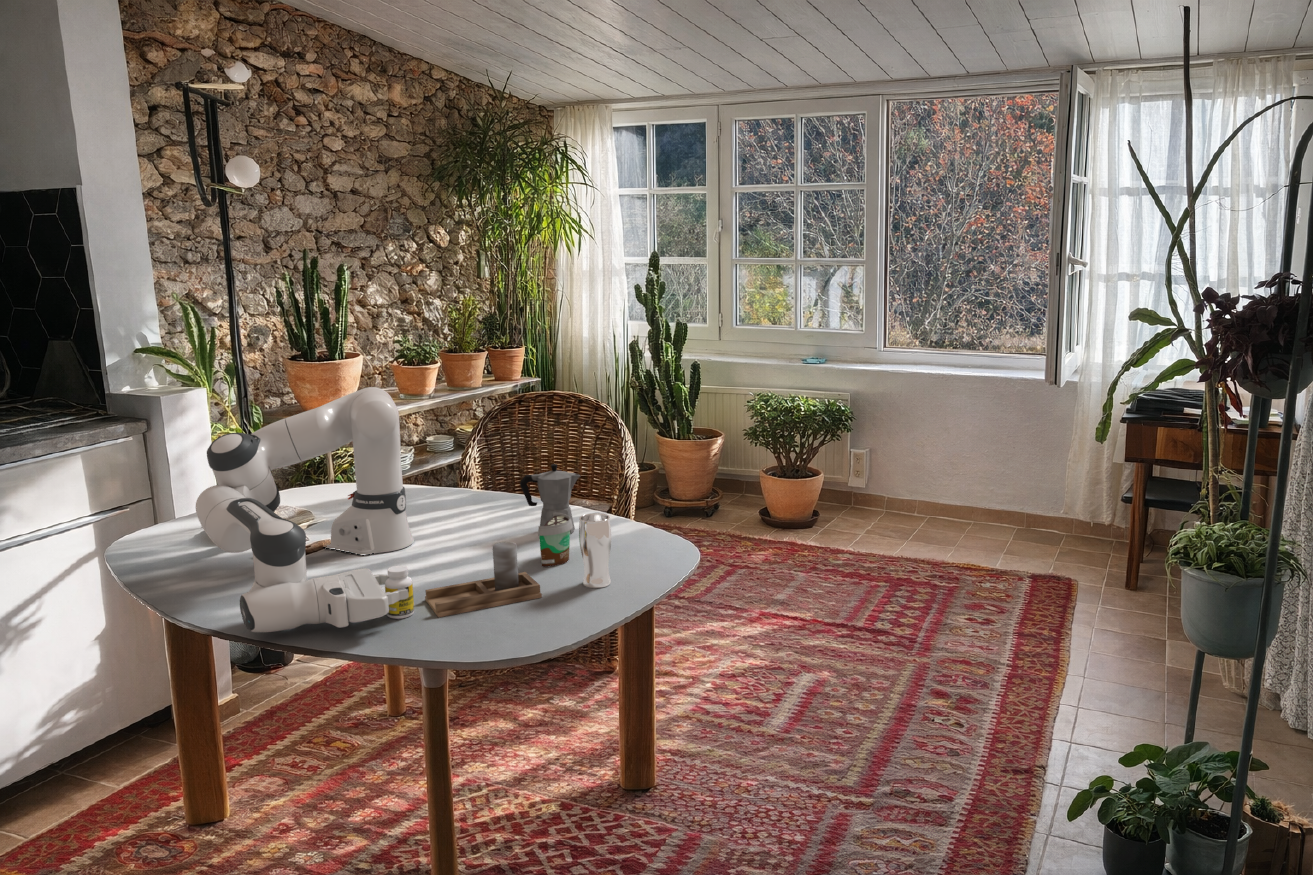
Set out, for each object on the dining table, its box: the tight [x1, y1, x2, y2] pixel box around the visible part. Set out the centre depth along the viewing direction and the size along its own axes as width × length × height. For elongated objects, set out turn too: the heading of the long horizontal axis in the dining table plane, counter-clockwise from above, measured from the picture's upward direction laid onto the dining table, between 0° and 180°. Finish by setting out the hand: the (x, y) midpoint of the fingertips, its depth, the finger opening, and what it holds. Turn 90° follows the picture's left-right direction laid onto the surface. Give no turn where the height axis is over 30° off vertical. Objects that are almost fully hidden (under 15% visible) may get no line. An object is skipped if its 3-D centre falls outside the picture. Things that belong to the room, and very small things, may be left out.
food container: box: [537, 513, 573, 568], centre depth 224 cm, size 12×6×10 cm, turn 168°
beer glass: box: [578, 512, 612, 589], centre depth 208 cm, size 7×7×15 cm
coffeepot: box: [519, 463, 581, 535], centre depth 245 cm, size 15×9×18 cm, turn 103°
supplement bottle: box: [384, 565, 415, 620], centre depth 194 cm, size 5×5×10 cm
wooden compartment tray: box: [424, 541, 543, 618], centre depth 201 cm, size 22×11×11 cm, turn 117°
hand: (402, 585), depth 194 cm, fingers open, 8 cm apart
